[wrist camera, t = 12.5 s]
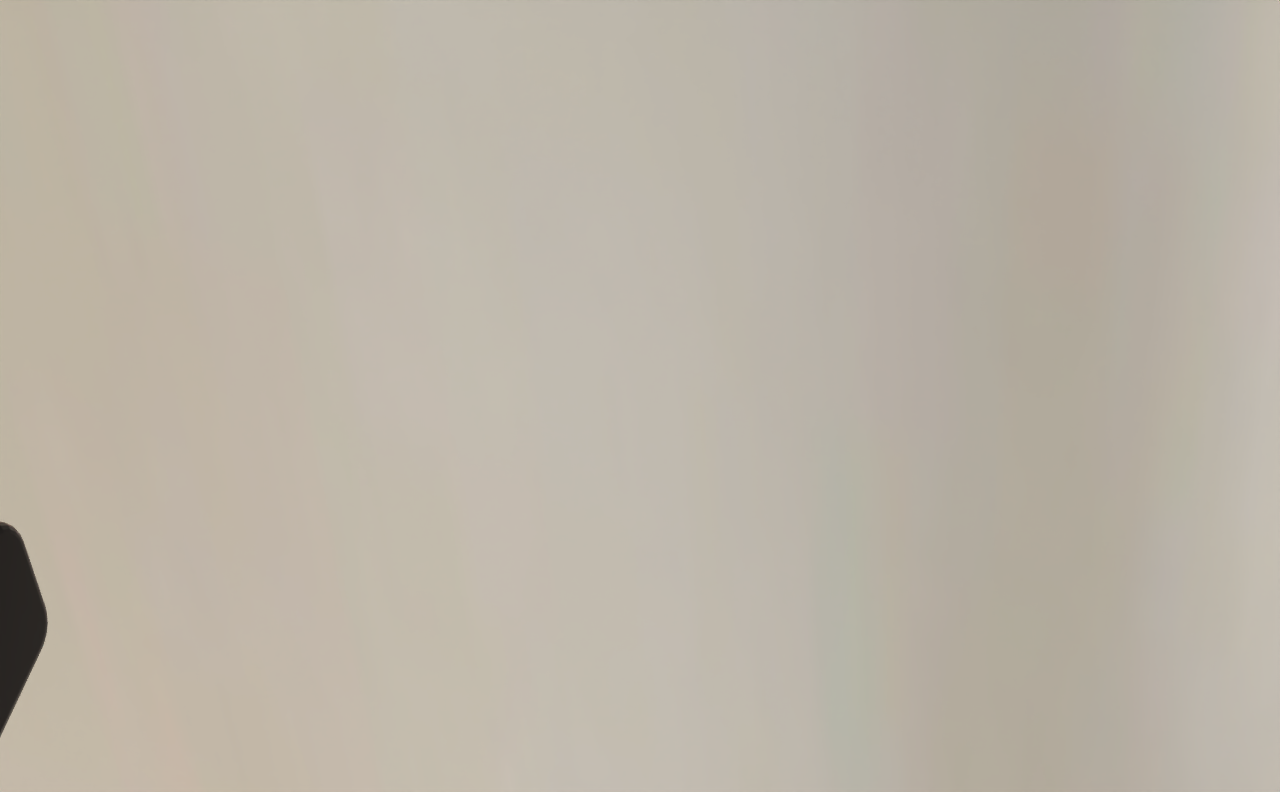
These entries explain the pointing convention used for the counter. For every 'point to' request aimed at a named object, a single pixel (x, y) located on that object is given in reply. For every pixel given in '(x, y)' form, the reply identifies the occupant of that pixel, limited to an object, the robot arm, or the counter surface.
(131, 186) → the counter surface
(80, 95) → the counter surface
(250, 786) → the counter surface
